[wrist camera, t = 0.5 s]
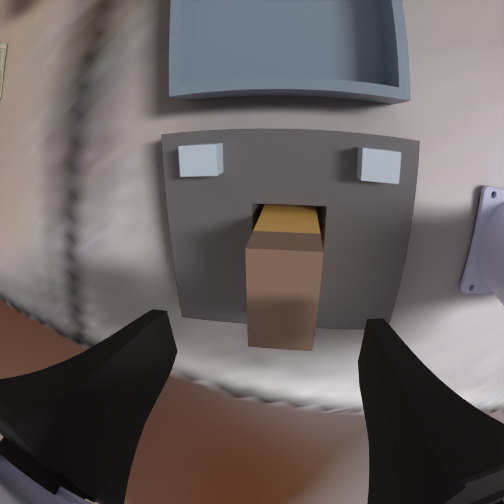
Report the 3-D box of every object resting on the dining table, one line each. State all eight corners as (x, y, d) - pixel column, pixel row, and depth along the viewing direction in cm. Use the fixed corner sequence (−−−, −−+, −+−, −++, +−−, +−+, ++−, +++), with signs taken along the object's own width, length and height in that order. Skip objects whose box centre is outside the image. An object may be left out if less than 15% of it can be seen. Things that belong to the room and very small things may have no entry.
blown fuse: (315, 205, 17) (323, 252, 11) (310, 278, 19) (311, 350, 13) (265, 203, 18) (245, 248, 11) (265, 276, 20) (248, 346, 13)
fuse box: (407, 139, 15) (428, 142, 12) (381, 312, 20) (391, 340, 17) (175, 133, 17) (151, 135, 14) (191, 301, 22) (176, 327, 19)
